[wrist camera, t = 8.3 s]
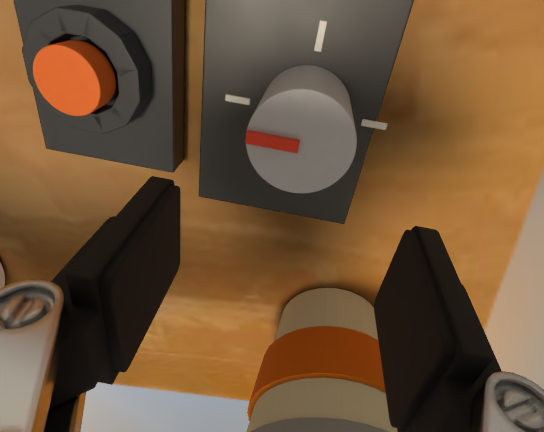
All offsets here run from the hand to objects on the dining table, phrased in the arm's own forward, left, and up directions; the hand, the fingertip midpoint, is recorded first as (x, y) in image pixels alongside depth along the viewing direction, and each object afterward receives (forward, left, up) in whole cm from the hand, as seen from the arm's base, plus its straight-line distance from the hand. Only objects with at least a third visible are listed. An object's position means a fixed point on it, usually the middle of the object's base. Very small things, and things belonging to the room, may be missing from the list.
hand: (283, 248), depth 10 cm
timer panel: (0, +1, -16) cm, 16 cm away
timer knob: (0, 0, -13) cm, 13 cm away
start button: (0, +12, -12) cm, 17 cm away
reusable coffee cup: (-20, -6, -16) cm, 26 cm away
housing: (0, +12, -16) cm, 20 cm away
